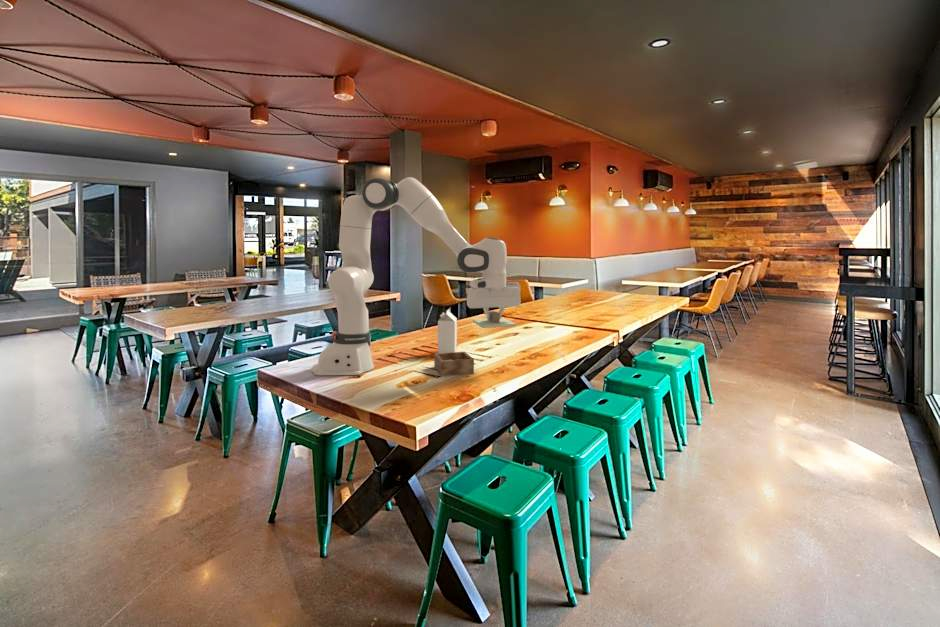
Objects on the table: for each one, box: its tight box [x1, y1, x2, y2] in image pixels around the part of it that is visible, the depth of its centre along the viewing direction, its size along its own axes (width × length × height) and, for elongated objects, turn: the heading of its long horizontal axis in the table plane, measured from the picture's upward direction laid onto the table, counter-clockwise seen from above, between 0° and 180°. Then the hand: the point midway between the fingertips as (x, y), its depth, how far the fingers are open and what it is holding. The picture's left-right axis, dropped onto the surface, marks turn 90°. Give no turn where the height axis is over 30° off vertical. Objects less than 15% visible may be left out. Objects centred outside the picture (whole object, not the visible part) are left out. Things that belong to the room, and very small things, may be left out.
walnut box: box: [433, 351, 475, 377], centre depth 182 cm, size 12×12×6 cm
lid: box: [472, 310, 517, 329], centre depth 182 cm, size 13×13×4 cm
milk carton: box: [437, 308, 458, 353], centre depth 206 cm, size 7×7×19 cm
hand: (493, 319), depth 182 cm, fingers closed on lid, 2 cm apart
